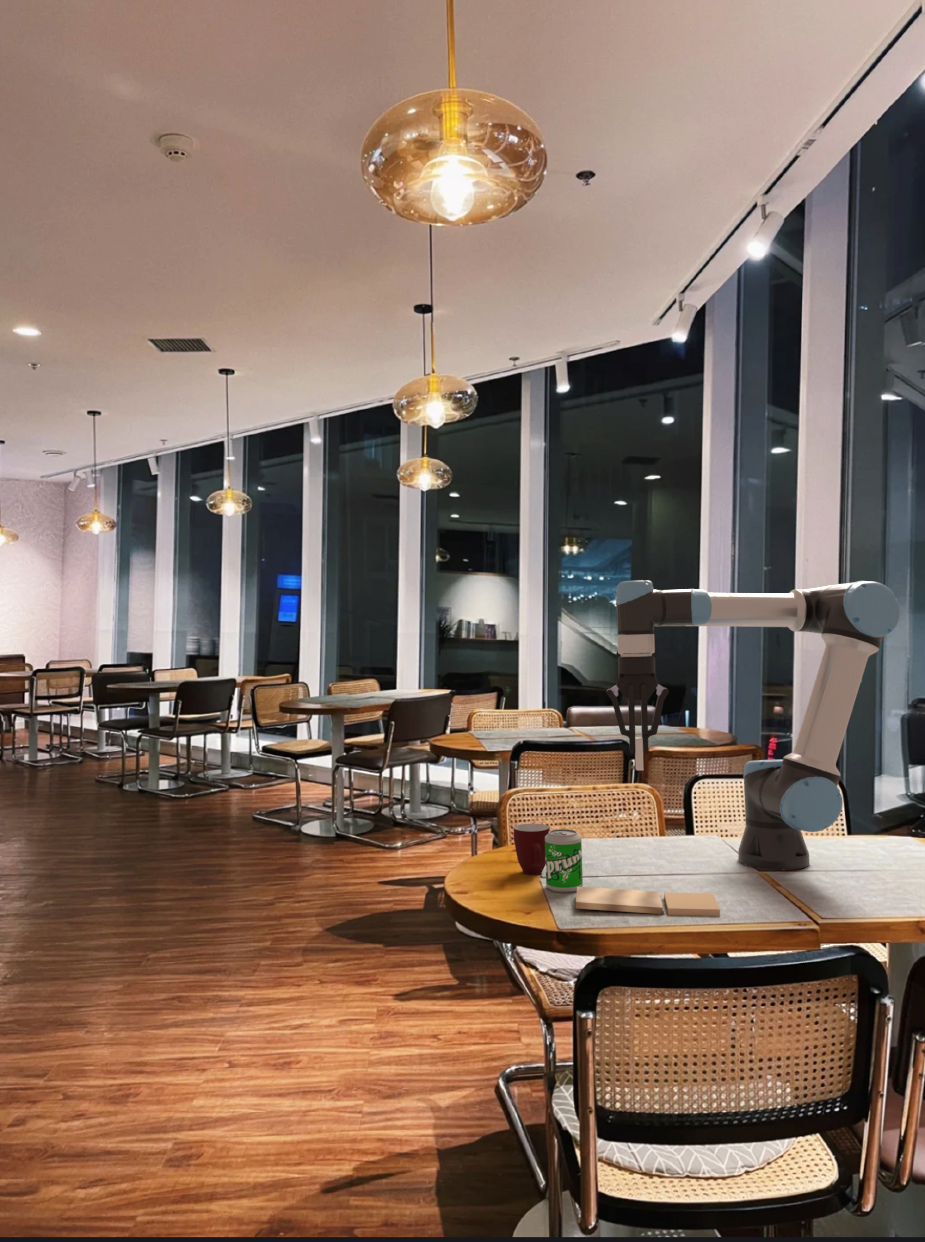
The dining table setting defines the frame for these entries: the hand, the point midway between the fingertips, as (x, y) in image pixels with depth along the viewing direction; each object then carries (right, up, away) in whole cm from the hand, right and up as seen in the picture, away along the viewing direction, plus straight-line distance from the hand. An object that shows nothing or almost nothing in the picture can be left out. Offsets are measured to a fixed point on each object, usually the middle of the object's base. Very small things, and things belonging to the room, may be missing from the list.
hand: (639, 769), depth 182 cm
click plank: (-7, -24, -13) cm, 28 cm away
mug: (-21, -25, +12) cm, 35 cm away
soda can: (-16, -25, -1) cm, 30 cm away
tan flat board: (-1, -24, -14) cm, 28 cm away
